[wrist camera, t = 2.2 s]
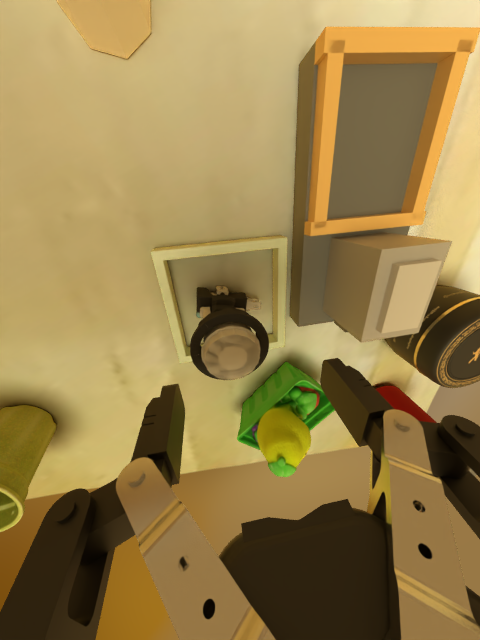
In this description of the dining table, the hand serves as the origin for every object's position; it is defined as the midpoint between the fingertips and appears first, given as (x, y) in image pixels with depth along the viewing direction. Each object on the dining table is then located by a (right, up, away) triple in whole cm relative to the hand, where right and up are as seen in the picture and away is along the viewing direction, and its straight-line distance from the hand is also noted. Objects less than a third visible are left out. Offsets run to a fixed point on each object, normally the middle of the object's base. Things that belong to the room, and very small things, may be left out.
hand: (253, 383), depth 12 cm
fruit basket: (+4, -6, +18) cm, 19 cm away
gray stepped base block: (+9, +13, +9) cm, 18 cm away
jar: (+22, +4, +16) cm, 28 cm away
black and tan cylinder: (-2, +6, +11) cm, 12 cm away
